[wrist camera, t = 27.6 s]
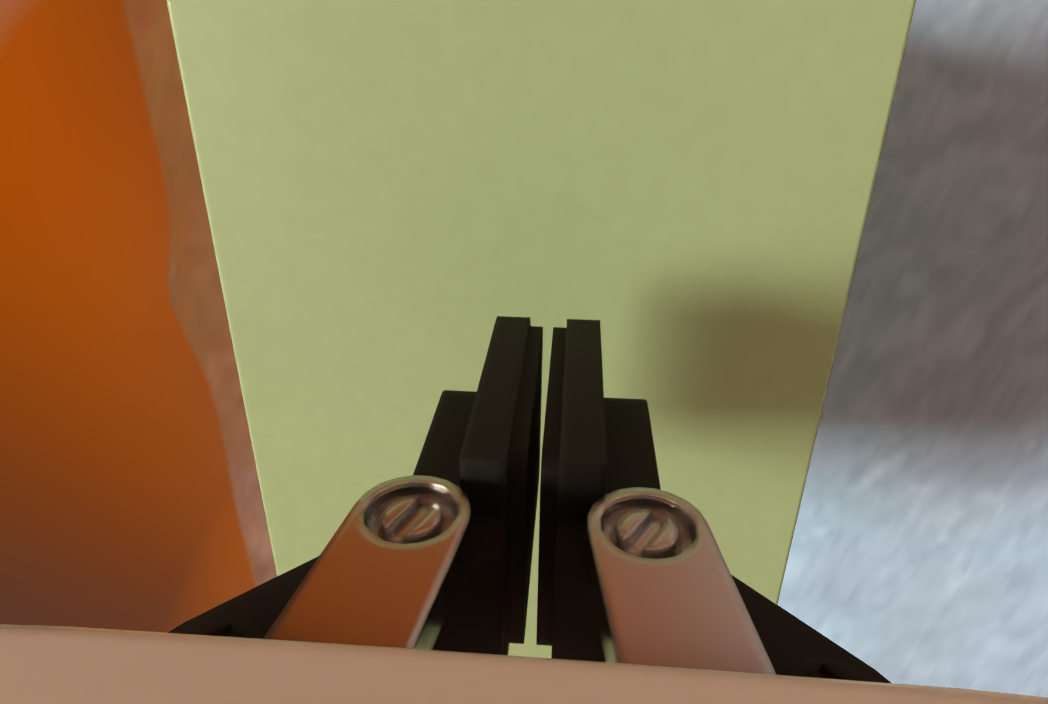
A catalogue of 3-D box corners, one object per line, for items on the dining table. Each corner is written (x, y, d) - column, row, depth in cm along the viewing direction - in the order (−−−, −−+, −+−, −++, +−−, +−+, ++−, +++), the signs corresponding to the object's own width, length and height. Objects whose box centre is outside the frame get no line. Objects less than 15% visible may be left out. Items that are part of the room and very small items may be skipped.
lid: (180, -44, 12) (155, -47, 11) (905, -37, 11) (927, -40, 10) (306, 658, 19) (296, 684, 18) (747, 683, 19) (754, 710, 18)
